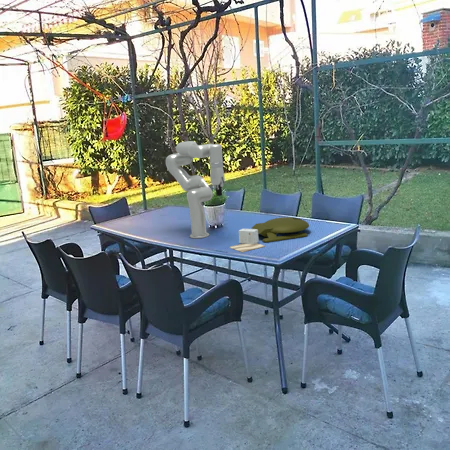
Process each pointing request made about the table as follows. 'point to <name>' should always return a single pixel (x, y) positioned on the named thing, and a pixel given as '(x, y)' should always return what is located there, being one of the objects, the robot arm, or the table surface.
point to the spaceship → (281, 228)
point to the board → (246, 247)
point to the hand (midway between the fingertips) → (219, 195)
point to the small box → (248, 236)
